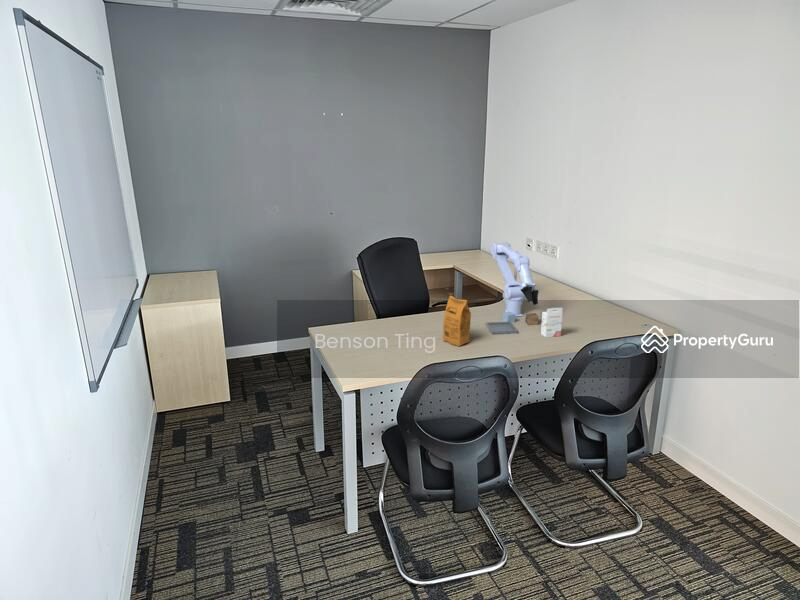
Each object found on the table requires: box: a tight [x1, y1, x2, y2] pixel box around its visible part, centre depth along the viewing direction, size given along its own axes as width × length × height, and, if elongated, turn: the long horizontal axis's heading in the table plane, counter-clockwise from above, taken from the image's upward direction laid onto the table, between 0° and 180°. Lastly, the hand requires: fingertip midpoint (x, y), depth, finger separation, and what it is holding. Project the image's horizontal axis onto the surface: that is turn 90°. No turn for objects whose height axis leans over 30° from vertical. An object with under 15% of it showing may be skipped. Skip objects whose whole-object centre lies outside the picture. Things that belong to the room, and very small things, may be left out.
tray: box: [485, 321, 519, 335], centre depth 266 cm, size 13×13×2 cm
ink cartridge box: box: [540, 307, 564, 338], centre depth 256 cm, size 9×5×15 cm, turn 101°
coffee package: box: [442, 295, 472, 347], centre depth 247 cm, size 10×12×22 cm
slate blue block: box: [502, 312, 516, 323], centre depth 277 cm, size 4×4×4 cm
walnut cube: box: [524, 312, 539, 326], centre depth 274 cm, size 5×5×5 cm
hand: (533, 302), depth 267 cm, fingers open, 7 cm apart
